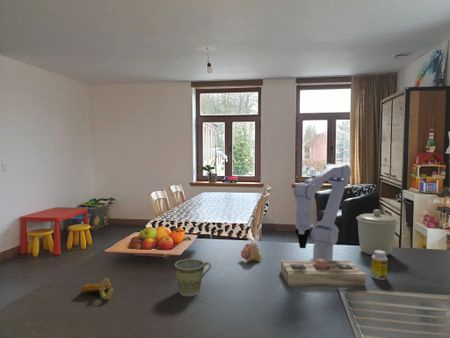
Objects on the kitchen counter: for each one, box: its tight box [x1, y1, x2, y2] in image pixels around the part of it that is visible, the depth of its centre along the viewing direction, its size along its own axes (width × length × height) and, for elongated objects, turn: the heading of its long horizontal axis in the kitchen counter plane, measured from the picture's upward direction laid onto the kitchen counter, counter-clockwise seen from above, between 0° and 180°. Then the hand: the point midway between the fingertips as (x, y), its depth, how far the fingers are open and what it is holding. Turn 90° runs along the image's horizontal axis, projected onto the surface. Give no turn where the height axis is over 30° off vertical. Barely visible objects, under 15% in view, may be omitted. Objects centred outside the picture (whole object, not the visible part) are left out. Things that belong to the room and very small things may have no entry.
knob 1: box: [292, 264, 304, 269], centre depth 125 cm, size 4×4×4 cm
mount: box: [280, 259, 367, 287], centre depth 126 cm, size 14×28×4 cm, turn 92°
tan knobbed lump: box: [240, 240, 263, 265], centre depth 143 cm, size 9×10×10 cm
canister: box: [355, 209, 399, 257], centre depth 156 cm, size 18×18×21 cm
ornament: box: [80, 277, 114, 301], centre depth 110 cm, size 7×10×15 cm
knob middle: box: [315, 259, 328, 269], centre depth 125 cm, size 4×4×4 cm
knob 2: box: [338, 264, 351, 269], centre depth 126 cm, size 4×4×4 cm
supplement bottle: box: [370, 250, 388, 281], centre depth 127 cm, size 6×6×10 cm
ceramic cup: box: [174, 258, 212, 297], centre depth 113 cm, size 13×10×10 cm
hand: (302, 247), depth 130 cm, fingers closed
